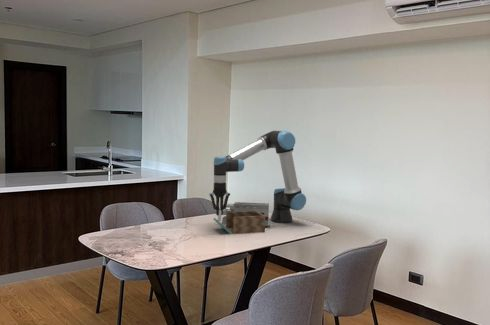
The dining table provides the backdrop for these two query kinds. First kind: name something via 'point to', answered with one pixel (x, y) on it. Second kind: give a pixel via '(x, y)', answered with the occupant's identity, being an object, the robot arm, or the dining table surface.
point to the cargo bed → (245, 222)
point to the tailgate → (223, 226)
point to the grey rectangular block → (247, 209)
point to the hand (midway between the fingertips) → (219, 220)
